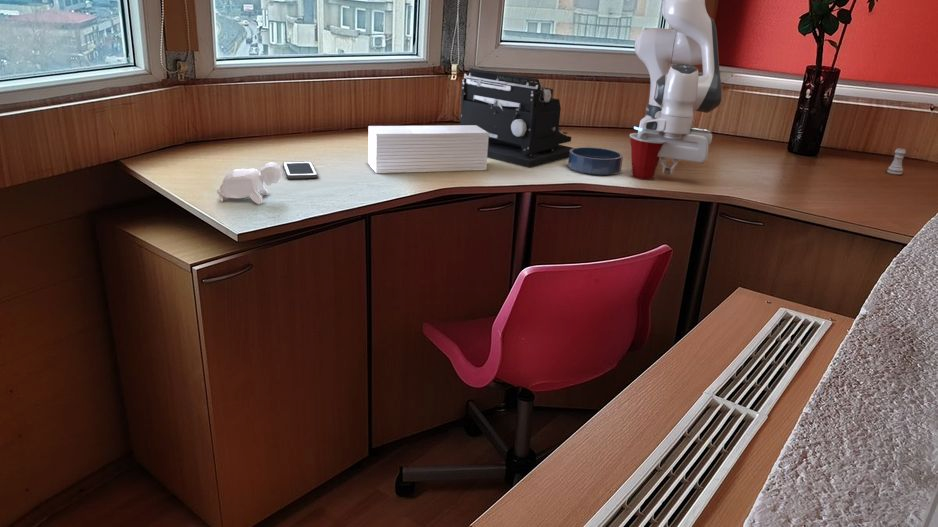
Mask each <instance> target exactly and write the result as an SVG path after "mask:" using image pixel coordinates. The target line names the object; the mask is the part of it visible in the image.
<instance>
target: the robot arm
mask: <svg viewBox="0 0 938 527" xmlns="http://www.w3.org/2000/svg"><path fill="white" fill-rule="evenodd" d="M660 10H661V15H662V17H663V18H664V20H665V21H666V23H667V24H668V25H669V26H670V27H671V28H663V27H653V28H645V29H642V30H641V31H640V32H639V33H638V34H637V36H636V38H635V40H634V52H635V55H636V57H638V59H639V60H640V61H641V62H642V63H643V64H644V66H645V67H646V69H647V71H648V75H649V79H650V87H649V88H650V89H649V97H648V103H647V104H646V107H645V116H644V117H642V118H641V119H640V120H639V125H638V127H637V126H633V129H634V130H637V133H639V134H638V136H637V138H639V139H643V140H648V141H655V142H665V143H664V144H663V145H662V147H661V148H660V151H659V153H658V157H660V158H659V161H660V164H661V166H662V172H661V173H662V174H666V175H671V176H673V174H674V169H675V168H676V166H677V165H678V164H679V162H680V161H683V162H691V163H696V164H697V163H699V164H704V163H706V162H707V161H708V158H709V152H710V145H711V144H712V142H713V133H712V132H711V131H710V130H709V129H707V128H700V127H693V121H694V111H695V112H700V113H706V114H709V113H710V112H712V111H714V110H716V108H718V107H719V106H720V105H721V102H722V99H723V98H722V97H723V87H722V80H721V79H722V78H721V73H720V59H719V42H718V33H717V26H716V22H715V19H713V17H710V15H709V14H708V12H707V11H708V10H707V7H706V0H662V2H661V9H660ZM671 64H672V65H671ZM669 65H671V66H670V67H669ZM699 65H702V75H699V69H698V68H697V67H696V66H699ZM667 159H670V160H672V163H673V164H672V166H667V164H666V161H667Z"/></svg>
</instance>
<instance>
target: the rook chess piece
mask: <svg viewBox="0 0 938 527" xmlns="http://www.w3.org/2000/svg"><path fill="white" fill-rule="evenodd" d="M894 153H895V154H894V155H893V161H892V162H891V164H890V166H888V167H887V170H886V173H887V174H890V175H893V176H901V175H902V174H903V171H904V169H903V160H904V158H905V157H904V155H906V154H907V152H906V149H905V148H899V147H896V149H895V150H894Z"/></svg>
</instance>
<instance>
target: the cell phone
mask: <svg viewBox="0 0 938 527" xmlns="http://www.w3.org/2000/svg"><path fill="white" fill-rule="evenodd" d="M282 166H283V169H284V170H283V171H284V172H285V175H286V178H287V179H292V180H293V179H294V180H295V179H317V178H318V172H317V169H316V167H315V166H314V164H313V162H312V161H310V160H305V161H283V162H282Z"/></svg>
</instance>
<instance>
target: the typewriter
mask: <svg viewBox="0 0 938 527" xmlns="http://www.w3.org/2000/svg"><path fill="white" fill-rule="evenodd" d="M468 71H469V74H468V75H467V73H464V74H463V77H461V97H460V99H461V100H460V118H459V123H460V124H459V125H477V126H478V127H480V128H482V129H483V130H485V131H487V132H488V133H489V136H488V137H489V139H488V146H487V147H488V153H487V159H488V158H489V159H493V160H497V161H500V162H504V163H508V164H513V165H516V166H520V167H525V168H534V167H537V166H542V165H546V164H549V163H553V162H557V161H561V160H566V159H569V150H570V149H573V148H574V147H572V146H568V145H563V144H566V143H570V142H572V136H569V135H568V131H562V127H561V126H560V121H561V120H560V119H561V111H562V110H561V109H562V108H561V101H560V99H559V98H553V96H554V95H553V94H554V89H553V88H549V87H545V86H541V84H542V80H539V79H538V78H534V77H528V76H522V75H515V74H509V73H508V74H507V73H503V72H496V71H489V70H483V69H477V68H471V67H469V68H468ZM561 131H562V133H561Z"/></svg>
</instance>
